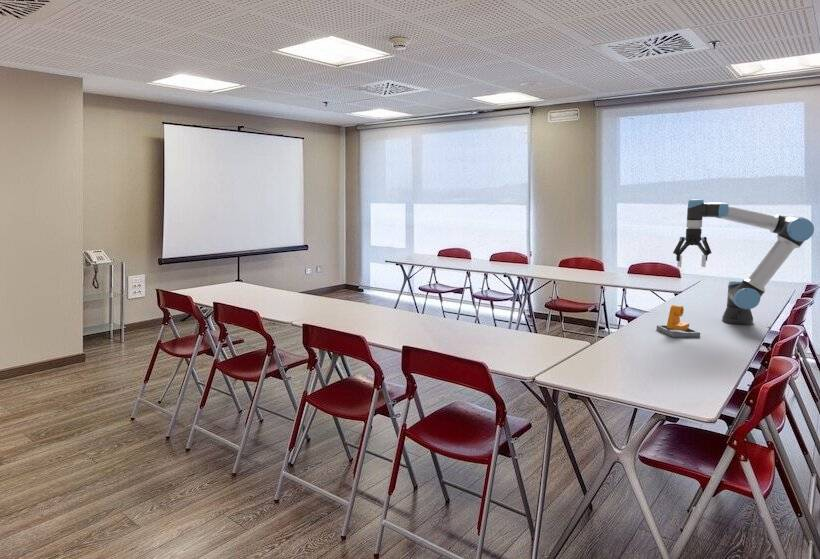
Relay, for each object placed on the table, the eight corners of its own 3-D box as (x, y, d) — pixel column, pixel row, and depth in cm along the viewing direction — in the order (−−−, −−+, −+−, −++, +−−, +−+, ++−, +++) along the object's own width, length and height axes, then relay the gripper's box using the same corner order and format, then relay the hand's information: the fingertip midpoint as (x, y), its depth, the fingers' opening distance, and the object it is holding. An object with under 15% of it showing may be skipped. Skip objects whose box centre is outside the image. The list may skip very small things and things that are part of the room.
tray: (682, 329, 301) (682, 324, 301) (700, 337, 285) (700, 332, 284) (656, 329, 301) (656, 325, 300) (672, 337, 284) (673, 333, 284)
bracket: (681, 331, 286) (682, 308, 284) (666, 329, 291) (668, 306, 290) (689, 328, 293) (691, 305, 292) (675, 325, 299) (676, 303, 297)
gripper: (712, 227, 311) (709, 265, 314) (668, 227, 310) (665, 266, 313) (720, 228, 304) (717, 267, 307) (675, 228, 303) (672, 268, 306)
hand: (691, 266), depth 310 cm, fingers open, 13 cm apart
